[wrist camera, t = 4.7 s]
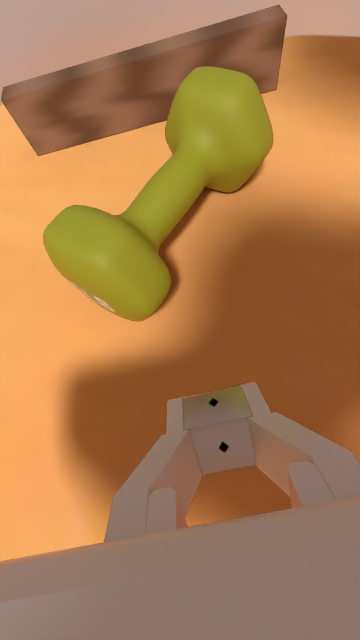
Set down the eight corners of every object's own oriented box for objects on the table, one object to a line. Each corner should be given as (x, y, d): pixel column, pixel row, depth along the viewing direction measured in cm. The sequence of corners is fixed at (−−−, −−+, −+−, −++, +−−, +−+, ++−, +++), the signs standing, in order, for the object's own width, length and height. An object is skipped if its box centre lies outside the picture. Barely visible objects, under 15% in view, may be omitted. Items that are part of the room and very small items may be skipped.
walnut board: (269, 77, 27) (278, 4, 22) (276, 89, 26) (287, 15, 21) (38, 143, 28) (3, 87, 24) (38, 155, 28) (0, 100, 23)
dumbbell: (191, 152, 25) (179, 49, 18) (275, 178, 22) (295, 68, 15) (72, 294, 21) (0, 226, 14) (156, 347, 18) (117, 294, 11)
